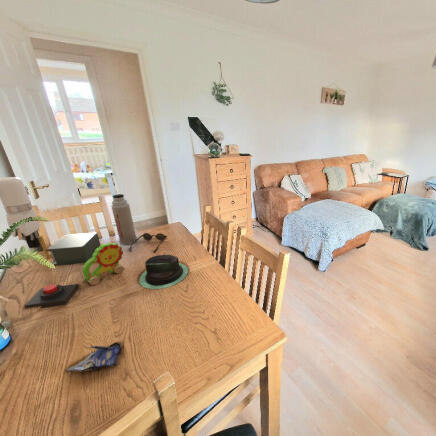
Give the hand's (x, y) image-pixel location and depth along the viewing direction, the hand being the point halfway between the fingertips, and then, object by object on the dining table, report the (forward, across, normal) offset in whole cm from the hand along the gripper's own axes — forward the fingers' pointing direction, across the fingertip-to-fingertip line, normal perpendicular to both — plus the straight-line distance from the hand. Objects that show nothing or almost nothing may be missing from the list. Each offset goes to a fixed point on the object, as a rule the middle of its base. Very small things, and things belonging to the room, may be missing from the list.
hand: (34, 246), depth 105 cm
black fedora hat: (+12, +16, +52) cm, 56 cm away
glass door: (+11, -8, +1) cm, 13 cm away
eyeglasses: (+12, -15, +39) cm, 44 cm away
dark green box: (+12, -11, +9) cm, 19 cm away
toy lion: (+12, +11, +28) cm, 33 cm away
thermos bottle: (+12, -23, +27) cm, 38 cm away
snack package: (+12, +58, +42) cm, 72 cm away
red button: (+9, +23, +15) cm, 28 cm away
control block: (+12, +23, +15) cm, 30 cm away
